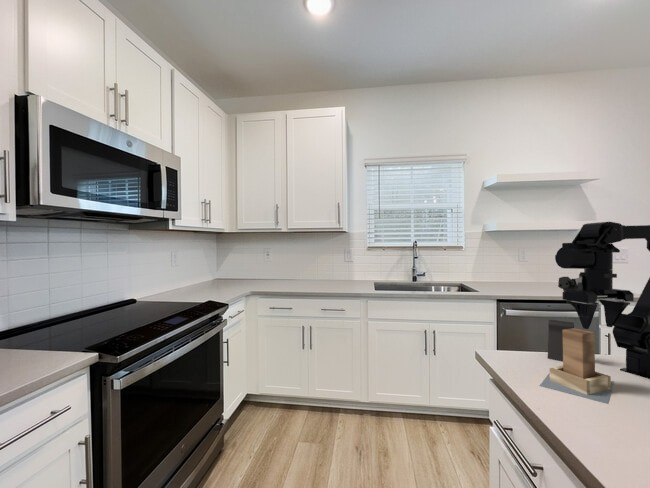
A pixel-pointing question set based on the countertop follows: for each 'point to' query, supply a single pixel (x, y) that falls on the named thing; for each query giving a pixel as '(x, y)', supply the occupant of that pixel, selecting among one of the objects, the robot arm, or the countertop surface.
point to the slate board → (597, 396)
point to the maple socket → (581, 381)
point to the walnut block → (579, 353)
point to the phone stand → (557, 338)
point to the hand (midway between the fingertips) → (597, 327)
